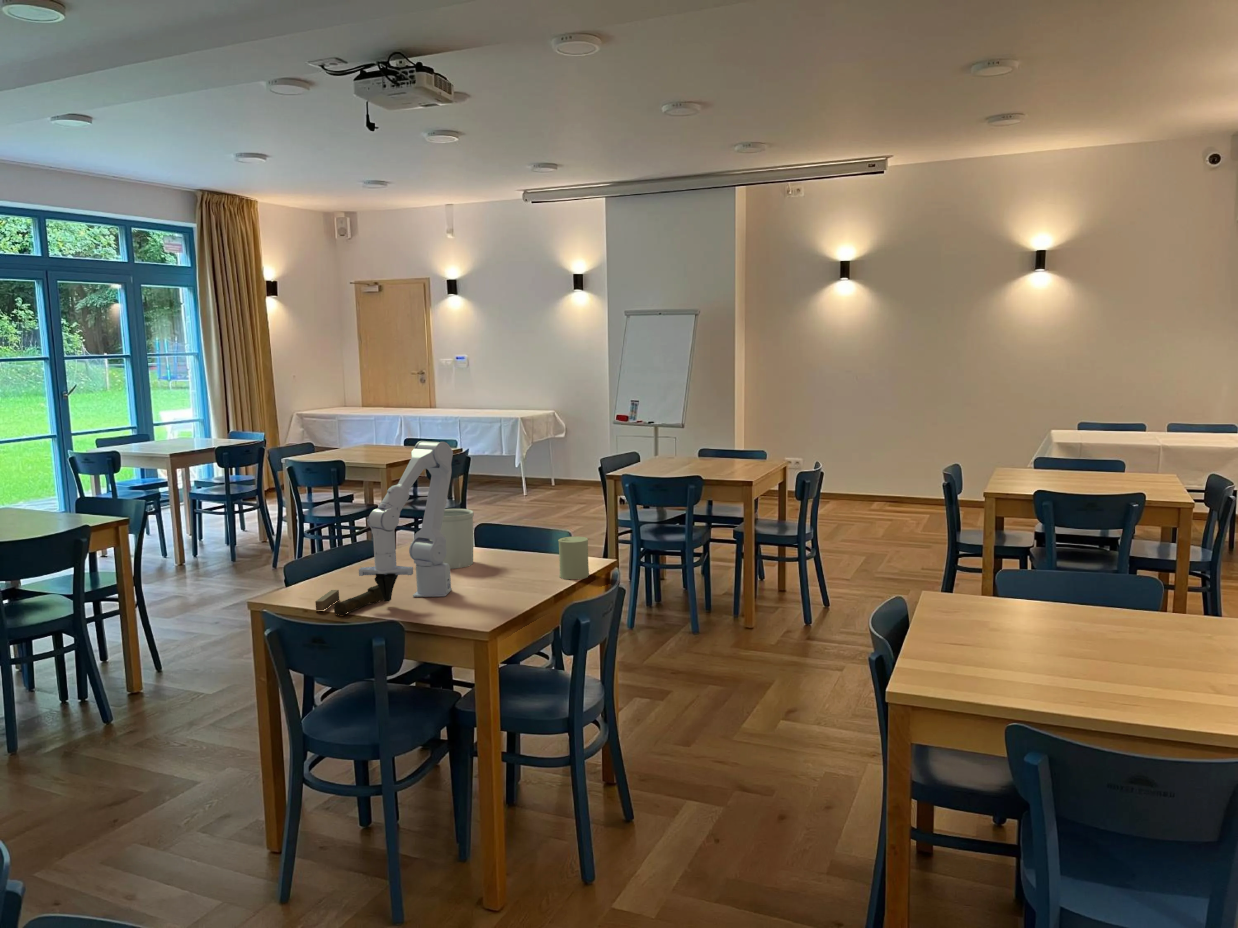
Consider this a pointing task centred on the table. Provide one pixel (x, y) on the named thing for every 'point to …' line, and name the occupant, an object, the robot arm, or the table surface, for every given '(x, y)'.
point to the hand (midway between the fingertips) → (387, 600)
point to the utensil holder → (458, 537)
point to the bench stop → (327, 600)
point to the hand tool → (359, 601)
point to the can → (573, 557)
